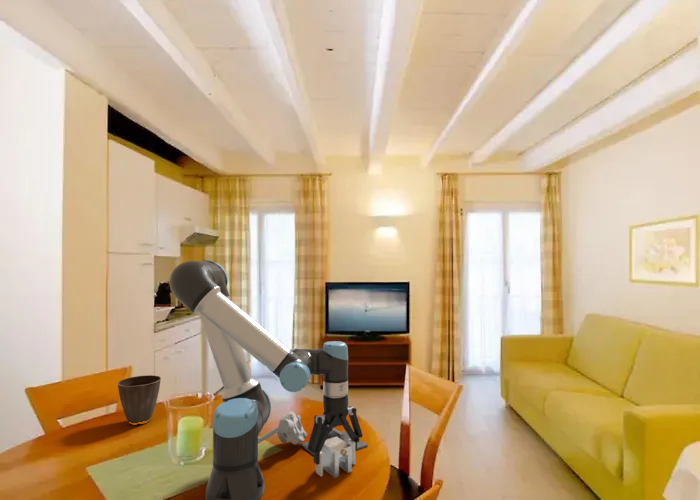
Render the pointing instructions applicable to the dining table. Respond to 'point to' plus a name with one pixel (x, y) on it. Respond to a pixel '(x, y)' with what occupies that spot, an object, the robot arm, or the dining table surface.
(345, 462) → the hollow grey box
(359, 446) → the dark grey angled piece
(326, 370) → the robot arm
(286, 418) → the valve
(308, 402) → the dining table surface
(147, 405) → the plant pot
